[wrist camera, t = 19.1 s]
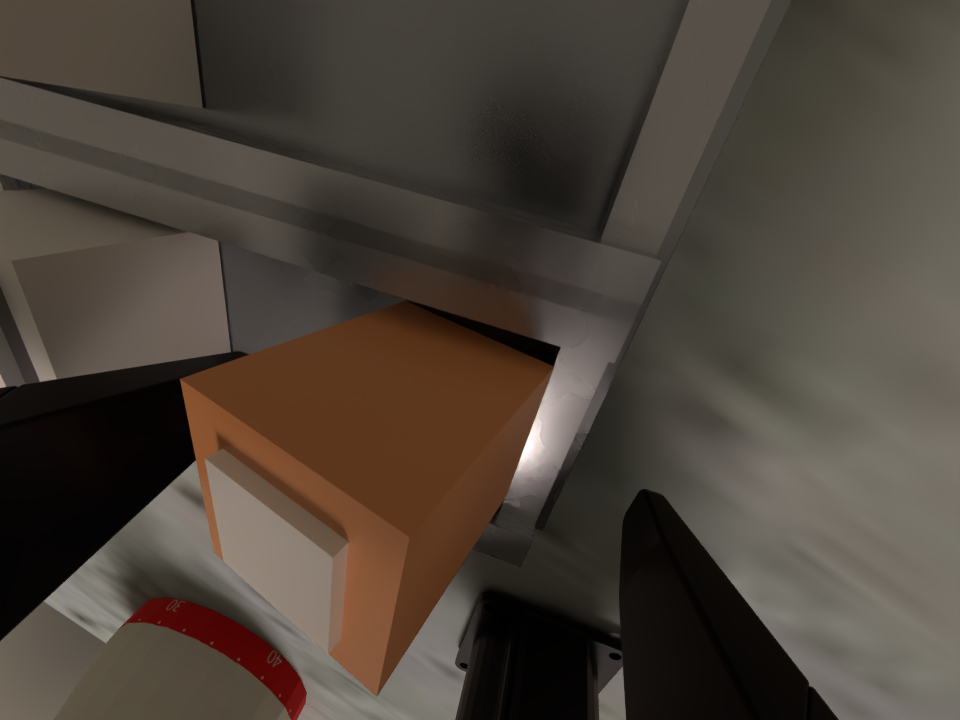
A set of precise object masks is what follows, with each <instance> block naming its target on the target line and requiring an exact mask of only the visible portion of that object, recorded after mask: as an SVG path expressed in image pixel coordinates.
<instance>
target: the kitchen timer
mask: <svg viewBox="0 0 960 720" xmlns="http://www.w3.org/2000/svg"><path fill="white" fill-rule="evenodd" d="M306 694H307V693H306V690H305V688H304V685H303V683H302V680H301V678H300V677H299V676H298V674H297V673H296V672H295V670H294V669H293V668H292V667H291V665H290V664H289V663H288V661H286V660H285V659H284V658H283V657H282V656H281V655H280V654H279V653H278V652H277V651H276V650H274V649H273V648H272V647H271V646H270V645H269V644H268V643H266V642H265V641H264V640H262V639H261V638H259V637H258V636H256V635H255V634H254V633H252V632H251V631H249V630H248V629H246V628H245V627H244V626H242V625H240V624H238V623H236V622H234V621H232V620H230V619H229V618H227V617H225V616H223V615H221V614H219V613H217V612H215V611H212V610H210V609H207V608H204V607H202V606H199V605H197V604H194V603H191V602H187V601H182V600H177V599H172V598H160V599H152V600H150V601H148V602H147V603H145V604H144V605H142V606H141V607H140V608H139V609H138V610H137V611H136V612H135V613H134V614H133V615H132V616H131V617H130V618H129V619H128V620H127V621H126V622H125V623H124V624H123V625H122V626H121V627H120V628H119V629H118V630H117V632H116V633H115V634H114V635H113V636H112V637H111V638H110V639H109V641H108V642H107V643H106V644H105V646H104V647H103V648H102V649H101V651H100V652H99V653H98V655H97V656H96V657H95V659H94V660H93V662H92V663H91V664H90V666H89V667H88V669H87V670H86V672H85V673H84V675H83V676H82V678H81V679H80V681H79V682H78V684H77V685H76V687H75V688H74V690H73V691H72V693H71V694H70V696H69V697H68V699H67V700H66V702H65V703H64V705H63V706H62V708H61V710H60V711H59V713H58V714H57V715H56V717H55V719H54V720H297V718H298V717H299V715H300V713H301V711H302V709H303V707H304V705H305V702H306Z"/></svg>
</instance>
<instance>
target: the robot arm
mask: <svg viewBox="0 0 960 720" xmlns="http://www.w3.org/2000/svg"><path fill="white" fill-rule="evenodd" d="M247 355H250V354H248V353H245V352H242V351H234V352H228V353H222V354H215V355H209V356H202V357H196V358H189V359H183V360H177V361H170V362H164V363H157V364H151V365H145V366H138V367H132V368H125V369H119V370H112V371H106V372H100V373H93V374H87V375H80V376H74V377H68V378H61V379H55V380H48V381H42V382H35V383H29V384H23V385H20V386H19V387H17V386H9V387H3V388H0V641H1V640H2V639H3V638H4V637H5V636H6V635H7V634H8V633H9V632H11V630H13V629H14V628H15V627H16V626H17V625H18V624H19V623H20V622H21V621H23V620H24V619H25V618H26V617H27V616H28V615H29V614H30V613H31V612H32V611H33V610H34V609H36V608H37V607H38V606H39V605H40V604H41V603H42V602H43V601H44V600H45V599H46V598H47V597H48V596H50V595H51V594H52V593H53V592H54V591H55V590H56V589H57V588H58V587H59V586H60V585H61V584H63V583H64V582H65V581H66V580H67V579H68V578H69V577H70V576H71V575H72V574H73V573H74V572H76V571H77V570H78V569H79V568H80V567H81V566H82V565H83V564H84V563H85V562H86V561H87V560H88V559H90V558H91V557H92V556H93V555H94V554H95V553H96V552H97V551H98V550H99V549H100V548H101V547H103V546H104V545H105V544H106V543H107V542H108V541H109V540H110V539H111V538H112V537H113V536H114V535H115V534H117V533H118V532H119V531H120V530H121V529H122V528H123V527H124V526H125V525H126V524H127V523H128V522H130V521H131V520H132V519H133V518H134V517H135V516H136V515H137V514H138V513H139V512H140V511H141V510H143V509H144V508H145V507H146V506H147V505H148V504H149V503H150V502H151V501H152V500H153V499H154V498H155V497H157V496H158V495H159V494H160V493H161V492H162V491H163V490H164V489H165V488H166V487H167V486H168V485H170V484H171V483H172V482H173V481H174V480H175V479H176V478H177V477H178V476H179V475H180V474H181V473H183V472H184V471H185V470H186V469H187V468H188V467H189V466H190V465H191V464H192V463H193V462H194V461H195V460H196V457H195V452H194V447H193V442H192V437H191V432H190V427H189V422H188V417H187V412H186V407H185V402H184V397H183V392H182V387H181V382H180V379H181V378H184V377H187V376H190V375H193V374H195V373H198V372H201V371H204V370H207V369H210V368H213V367H216V366H218V365H221V364H224V363H227V362H230V361H233V360H236V359H239V358H241V357H244V356H247ZM619 607H620V624H621V641H622V642H621V641H619V640H617V639H614V638H612V637H609V636H607V635H604V634H602V633H599V632H596V631H594V630H591V629H589V628H586V627H583V626H581V625H578V624H576V623H573V622H570V621H568V620H565V619H563V618H560V617H557V616H555V615H552V614H550V613H547V612H544V611H542V610H539V609H537V608H534V607H532V606H529V605H526V604H524V603H521V602H519V601H516V600H513V599H511V598H508V597H506V596H503V595H500V594H498V593H495V592H492V591H485V592H483V593H482V594H481V596H480V598H479V601H478V603H477V606H476V608H475V611H474V613H473V616H472V618H471V621H470V623H469V626H468V628H467V631H466V633H465V636H464V638H463V641H462V643H461V646H460V648H459V651H458V654H457V657H456V661H455V664H456V666H457V667H458V668H459V669H461V670H463V671H465V672H466V676H465V680H464V685H463V689H462V693H461V697H460V702H459V706H458V710H457V715H456V719H455V720H599V700H598V694H599V693H600V691H601V690H602V689H603V688H604V687H605V686H606V685H607V683H608V682H609V681H610V680H611V679H612V678H613V677H614V675H615V674H616V673H617V672H618V671H619V670H620V668H621V667H622V666H623V674H624V691H625V707H626V720H839V719H838V718H837V717H836V716H835V714H834V713H833V712H832V710H831V709H830V708H829V707H828V705H827V704H826V703H825V701H824V700H823V699H822V698H821V696H820V695H819V694H818V693H817V691H816V690H815V689H814V688H813V687H810V686H809V682H808V680H807V679H806V677H805V676H804V675H803V674H802V672H801V671H800V670H799V668H798V667H797V666H796V665H795V663H794V662H793V661H792V659H791V658H790V657H789V656H788V654H787V653H786V652H785V651H784V649H783V648H782V647H781V645H780V644H779V643H778V642H777V640H776V639H775V638H774V636H773V635H772V634H771V633H770V631H769V630H768V629H767V627H766V626H765V625H764V624H763V622H762V621H761V620H760V619H759V617H758V616H757V615H756V613H755V612H754V611H753V610H752V608H751V607H750V606H749V604H748V603H747V602H746V601H745V599H744V598H743V597H742V595H741V594H740V593H739V592H738V590H737V589H736V588H735V587H734V585H733V584H732V583H731V581H730V580H729V579H728V578H727V576H726V575H725V574H724V572H723V571H722V570H721V569H720V567H719V566H718V565H717V563H716V562H715V561H714V560H713V558H712V557H711V556H710V555H709V553H708V552H707V551H706V549H705V548H704V547H703V546H702V544H701V543H700V542H699V540H698V539H697V538H696V537H695V535H694V534H693V533H692V531H691V530H690V529H689V528H688V526H687V525H686V524H685V523H684V521H683V520H682V519H681V517H680V516H679V515H678V514H677V512H676V511H675V510H674V508H673V507H672V506H671V505H670V503H669V502H668V501H667V499H666V498H665V497H664V496H663V495H661V494H659V493H656V492H653V491H650V490H647V489H642V490H640V491H639V492H638V494H637V495H636V497H635V499H634V500H633V502H632V504H631V505H630V507H629V508H628V510H627V512H626V514H625V516H624V519H623V525H622V544H621V563H620V583H619Z"/></svg>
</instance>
